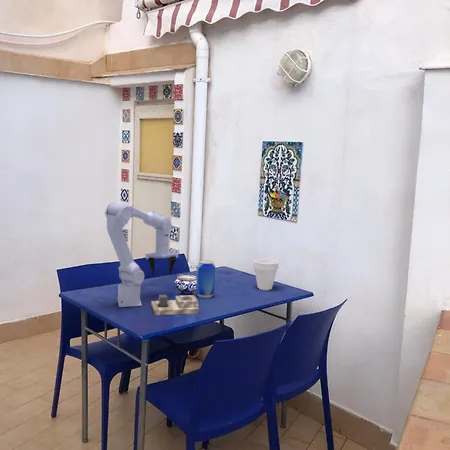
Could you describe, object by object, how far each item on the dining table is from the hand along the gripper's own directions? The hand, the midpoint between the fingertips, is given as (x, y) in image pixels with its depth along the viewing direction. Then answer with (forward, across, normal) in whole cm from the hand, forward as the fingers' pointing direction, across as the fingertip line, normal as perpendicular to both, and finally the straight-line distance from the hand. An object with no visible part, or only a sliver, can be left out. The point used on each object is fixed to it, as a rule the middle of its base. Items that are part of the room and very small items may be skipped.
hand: (161, 273), depth 232 cm
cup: (+11, +52, +2) cm, 53 cm away
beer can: (+11, +20, -4) cm, 23 cm away
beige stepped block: (+10, +1, -20) cm, 23 cm away
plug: (+10, -4, -20) cm, 23 cm away
